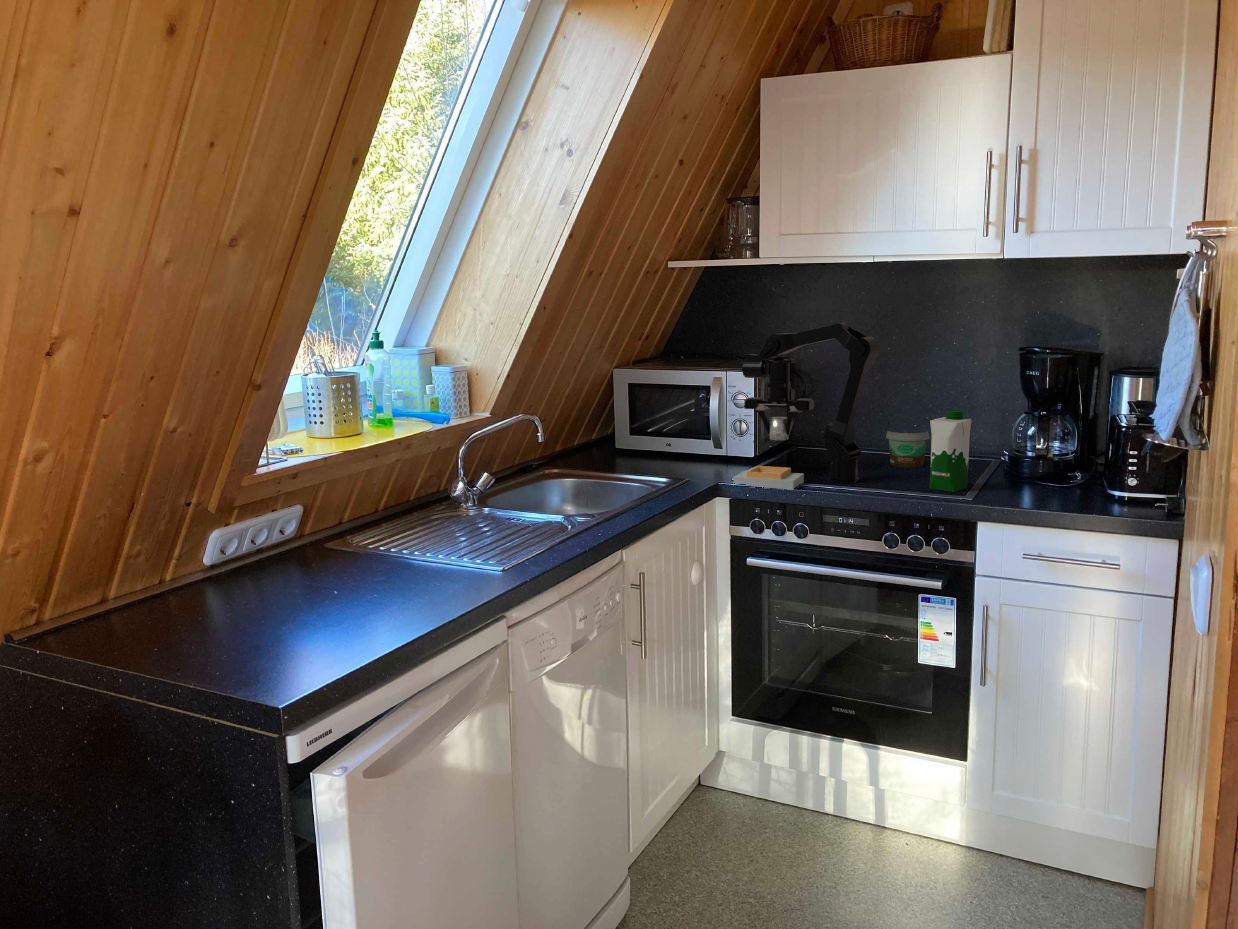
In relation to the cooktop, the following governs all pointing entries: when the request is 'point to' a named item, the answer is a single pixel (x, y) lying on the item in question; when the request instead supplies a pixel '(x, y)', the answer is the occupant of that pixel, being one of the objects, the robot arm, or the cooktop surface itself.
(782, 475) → the grey slab with frame
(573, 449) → the cooktop surface
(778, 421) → the steel can
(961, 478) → the milk carton
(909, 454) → the food container
